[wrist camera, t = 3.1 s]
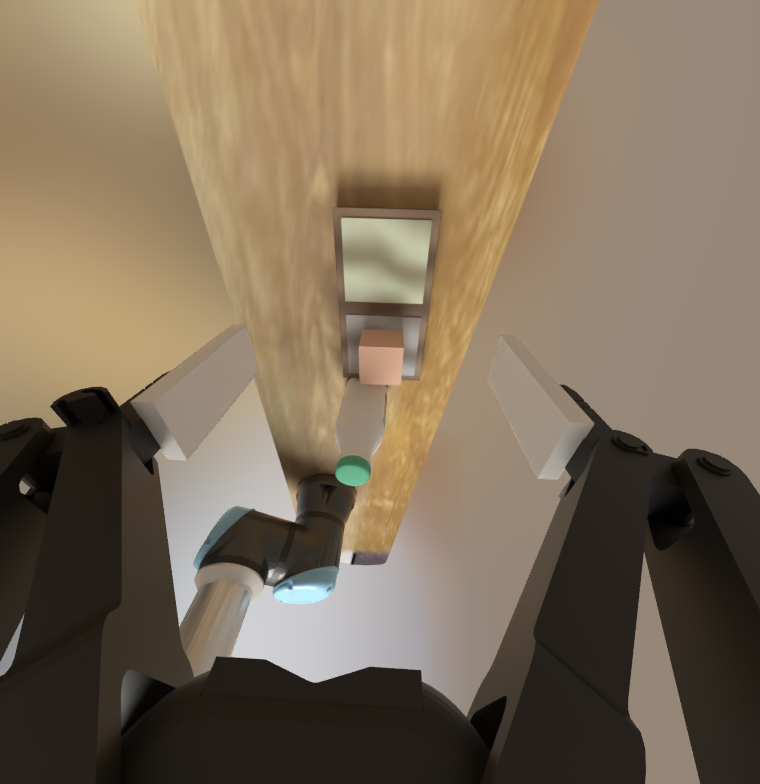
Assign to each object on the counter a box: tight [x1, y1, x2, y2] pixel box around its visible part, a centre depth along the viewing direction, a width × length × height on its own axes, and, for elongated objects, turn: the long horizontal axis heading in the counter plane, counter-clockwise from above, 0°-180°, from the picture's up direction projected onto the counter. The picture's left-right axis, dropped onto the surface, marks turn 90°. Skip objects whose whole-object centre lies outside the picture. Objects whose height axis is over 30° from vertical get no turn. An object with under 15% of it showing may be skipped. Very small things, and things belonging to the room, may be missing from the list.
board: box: [332, 207, 441, 381], centre depth 40 cm, size 24×13×3 cm, turn 179°
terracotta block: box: [359, 329, 404, 386], centre depth 40 cm, size 6×6×6 cm
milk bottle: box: [335, 378, 387, 486], centre depth 43 cm, size 8×8×20 cm
